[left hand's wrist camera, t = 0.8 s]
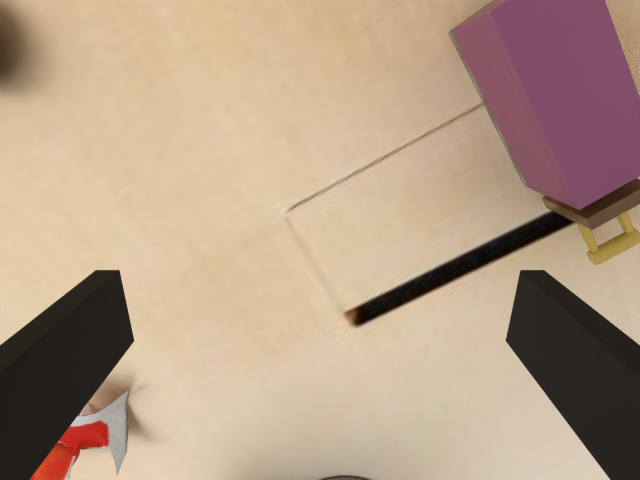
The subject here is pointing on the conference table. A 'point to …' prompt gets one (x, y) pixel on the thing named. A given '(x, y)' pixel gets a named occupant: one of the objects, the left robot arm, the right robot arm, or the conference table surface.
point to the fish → (88, 440)
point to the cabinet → (556, 94)
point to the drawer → (604, 219)
